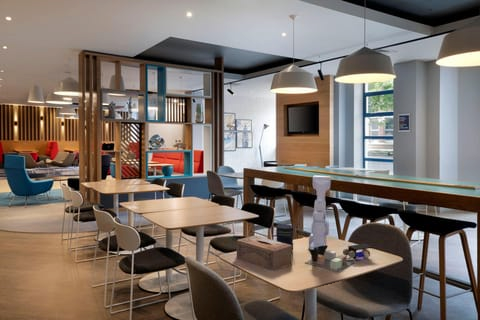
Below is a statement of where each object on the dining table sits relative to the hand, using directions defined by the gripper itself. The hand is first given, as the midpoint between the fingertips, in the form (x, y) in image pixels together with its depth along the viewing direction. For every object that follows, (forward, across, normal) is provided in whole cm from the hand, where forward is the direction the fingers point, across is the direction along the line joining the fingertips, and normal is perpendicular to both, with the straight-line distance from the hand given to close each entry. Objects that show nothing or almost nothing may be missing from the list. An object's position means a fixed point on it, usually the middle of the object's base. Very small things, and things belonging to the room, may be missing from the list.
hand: (317, 260), depth 196 cm
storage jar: (+2, +4, +23) cm, 23 cm away
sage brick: (+1, 0, -10) cm, 11 cm away
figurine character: (+2, +20, -13) cm, 24 cm away
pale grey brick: (+1, +10, -2) cm, 10 cm away
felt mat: (+2, +6, -4) cm, 7 cm away
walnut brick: (+1, +6, -10) cm, 12 cm away
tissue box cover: (+2, -16, +23) cm, 28 cm away
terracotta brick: (+1, 0, 0) cm, 1 cm away
